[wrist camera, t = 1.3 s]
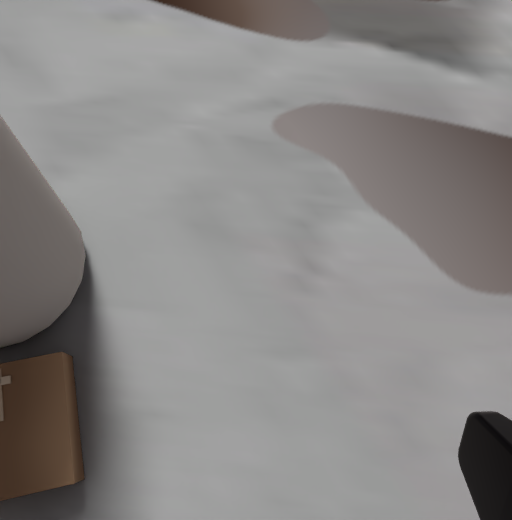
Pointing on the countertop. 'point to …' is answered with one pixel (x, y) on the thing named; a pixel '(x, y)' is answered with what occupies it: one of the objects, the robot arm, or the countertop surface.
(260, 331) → the countertop surface
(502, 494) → the robot arm
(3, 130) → the can
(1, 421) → the plank
